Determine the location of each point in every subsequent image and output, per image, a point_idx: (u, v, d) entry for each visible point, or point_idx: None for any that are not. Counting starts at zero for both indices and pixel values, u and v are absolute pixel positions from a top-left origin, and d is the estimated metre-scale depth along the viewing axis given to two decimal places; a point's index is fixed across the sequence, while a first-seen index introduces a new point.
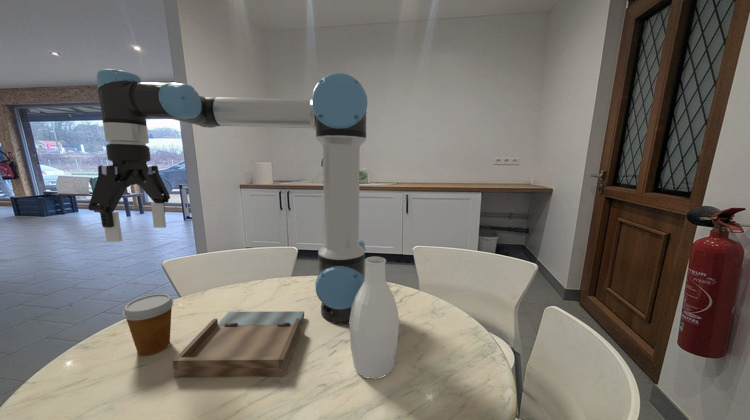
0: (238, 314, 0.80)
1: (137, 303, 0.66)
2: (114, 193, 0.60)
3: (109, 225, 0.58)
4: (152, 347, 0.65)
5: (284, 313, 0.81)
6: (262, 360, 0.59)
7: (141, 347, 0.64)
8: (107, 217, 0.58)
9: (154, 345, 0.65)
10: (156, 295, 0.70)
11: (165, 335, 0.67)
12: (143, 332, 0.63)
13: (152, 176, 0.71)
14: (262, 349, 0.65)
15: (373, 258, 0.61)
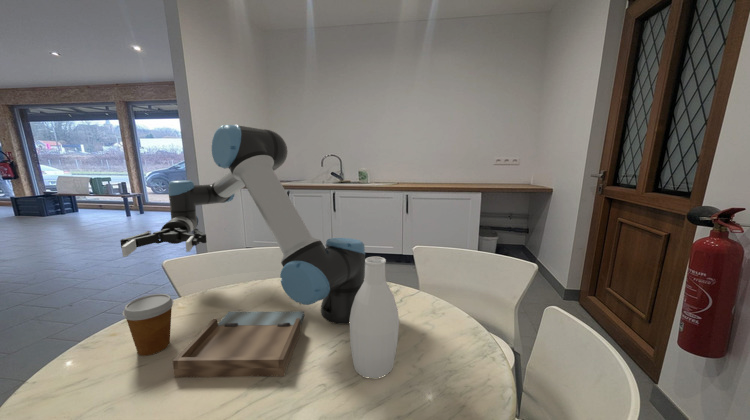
0: (238, 314, 0.80)
1: (137, 303, 0.66)
2: None
3: (123, 245, 0.73)
4: (152, 347, 0.65)
5: (284, 313, 0.81)
6: (262, 360, 0.59)
7: (141, 347, 0.64)
8: (125, 243, 0.74)
9: (154, 345, 0.65)
10: (156, 295, 0.70)
11: (165, 335, 0.67)
12: (143, 332, 0.63)
13: (194, 234, 0.87)
14: (262, 349, 0.65)
15: (373, 258, 0.61)
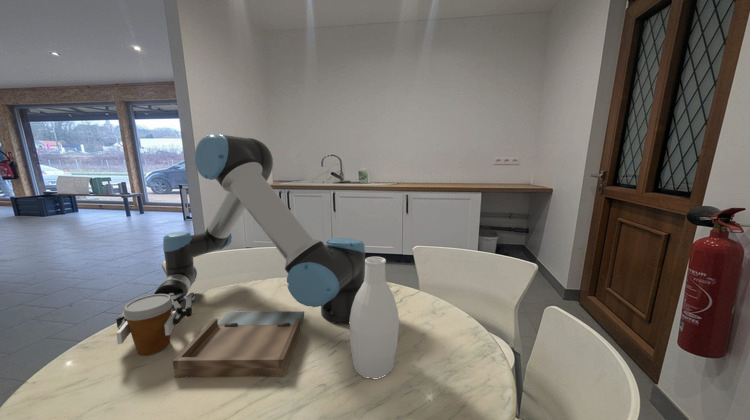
0: (238, 314, 0.80)
1: (136, 303, 0.66)
2: None
3: (119, 327, 0.64)
4: (152, 347, 0.65)
5: (284, 313, 0.81)
6: (262, 360, 0.59)
7: (141, 347, 0.64)
8: (121, 323, 0.66)
9: (154, 345, 0.65)
10: (156, 295, 0.70)
11: (165, 335, 0.67)
12: (142, 332, 0.63)
13: None
14: (262, 349, 0.65)
15: (373, 258, 0.61)
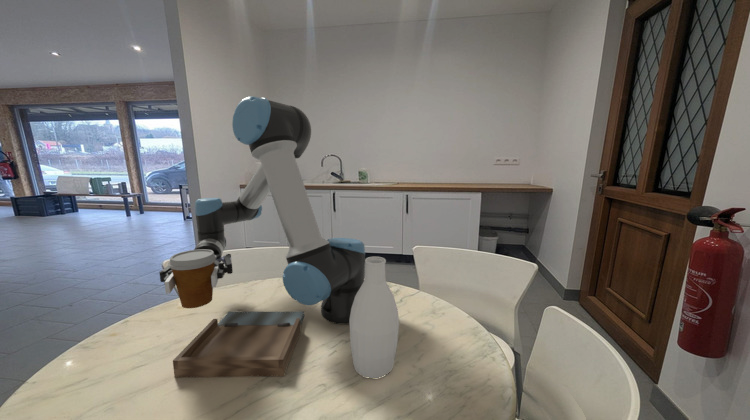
0: (238, 314, 0.80)
1: (180, 255, 0.65)
2: None
3: (164, 279, 0.63)
4: (198, 300, 0.64)
5: (284, 313, 0.81)
6: (262, 360, 0.59)
7: (187, 299, 0.63)
8: (166, 276, 0.64)
9: (199, 298, 0.64)
10: (198, 250, 0.69)
11: (209, 288, 0.66)
12: (189, 283, 0.62)
13: (224, 260, 0.77)
14: (262, 349, 0.65)
15: (373, 258, 0.61)
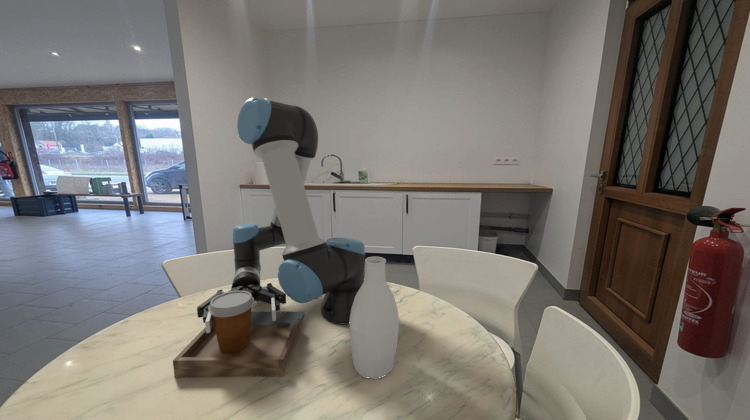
0: None
1: (219, 299, 0.65)
2: None
3: (203, 316, 0.63)
4: (236, 346, 0.63)
5: (284, 313, 0.81)
6: (262, 360, 0.59)
7: (225, 345, 0.63)
8: (204, 312, 0.64)
9: (237, 343, 0.63)
10: (235, 292, 0.68)
11: (246, 333, 0.65)
12: (228, 330, 0.62)
13: (268, 290, 0.77)
14: (262, 349, 0.65)
15: (373, 258, 0.61)
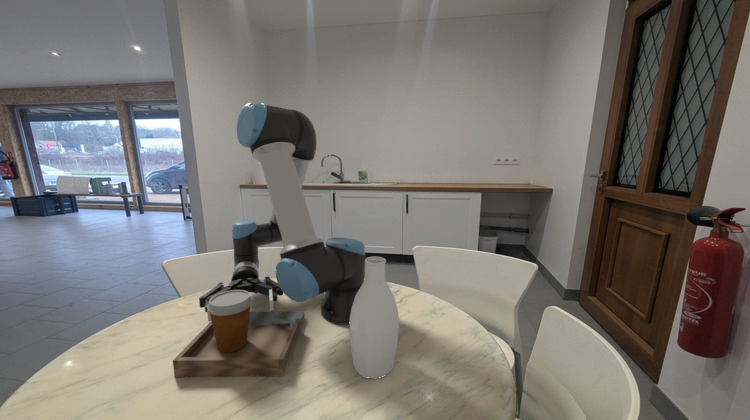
0: None
1: (219, 297, 0.65)
2: None
3: (205, 306, 0.67)
4: (232, 345, 0.63)
5: (284, 313, 0.81)
6: (262, 360, 0.59)
7: (222, 344, 0.63)
8: (205, 303, 0.69)
9: (233, 343, 0.63)
10: (236, 291, 0.69)
11: (243, 333, 0.65)
12: (224, 328, 0.62)
13: (266, 283, 0.82)
14: (262, 349, 0.65)
15: (373, 258, 0.61)
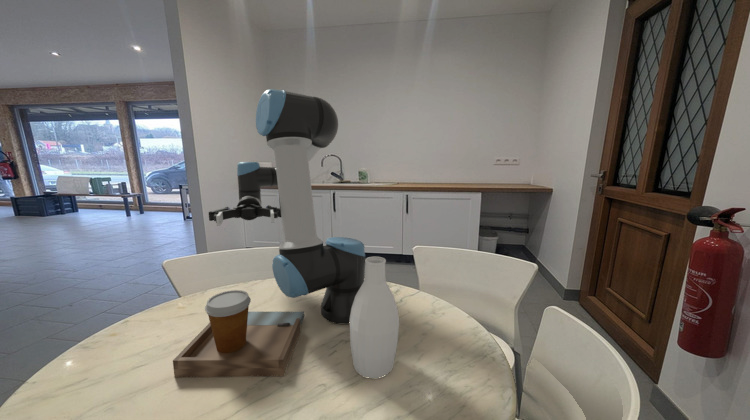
0: None
1: (218, 298, 0.65)
2: None
3: (214, 216, 0.76)
4: (229, 346, 0.63)
5: (284, 313, 0.81)
6: (262, 360, 0.59)
7: (220, 344, 0.63)
8: (214, 215, 0.78)
9: (231, 343, 0.63)
10: (235, 291, 0.68)
11: (241, 334, 0.65)
12: (221, 330, 0.62)
13: None
14: (262, 349, 0.65)
15: (373, 258, 0.61)
